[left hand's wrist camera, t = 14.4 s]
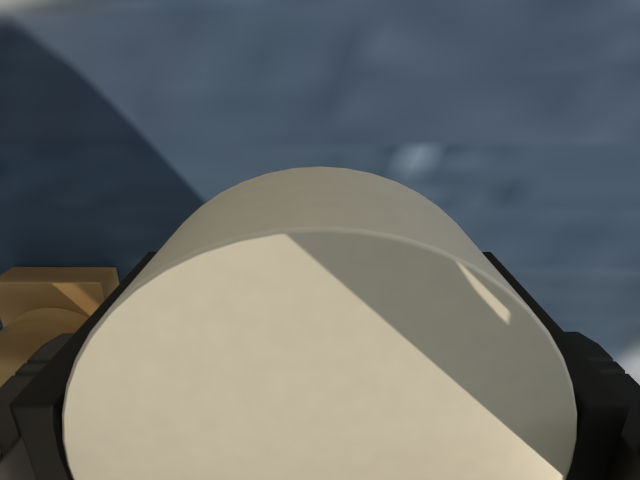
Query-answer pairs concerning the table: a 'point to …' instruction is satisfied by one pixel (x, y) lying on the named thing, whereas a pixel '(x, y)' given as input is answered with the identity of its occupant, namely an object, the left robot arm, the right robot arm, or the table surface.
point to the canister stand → (46, 307)
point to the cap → (319, 349)
